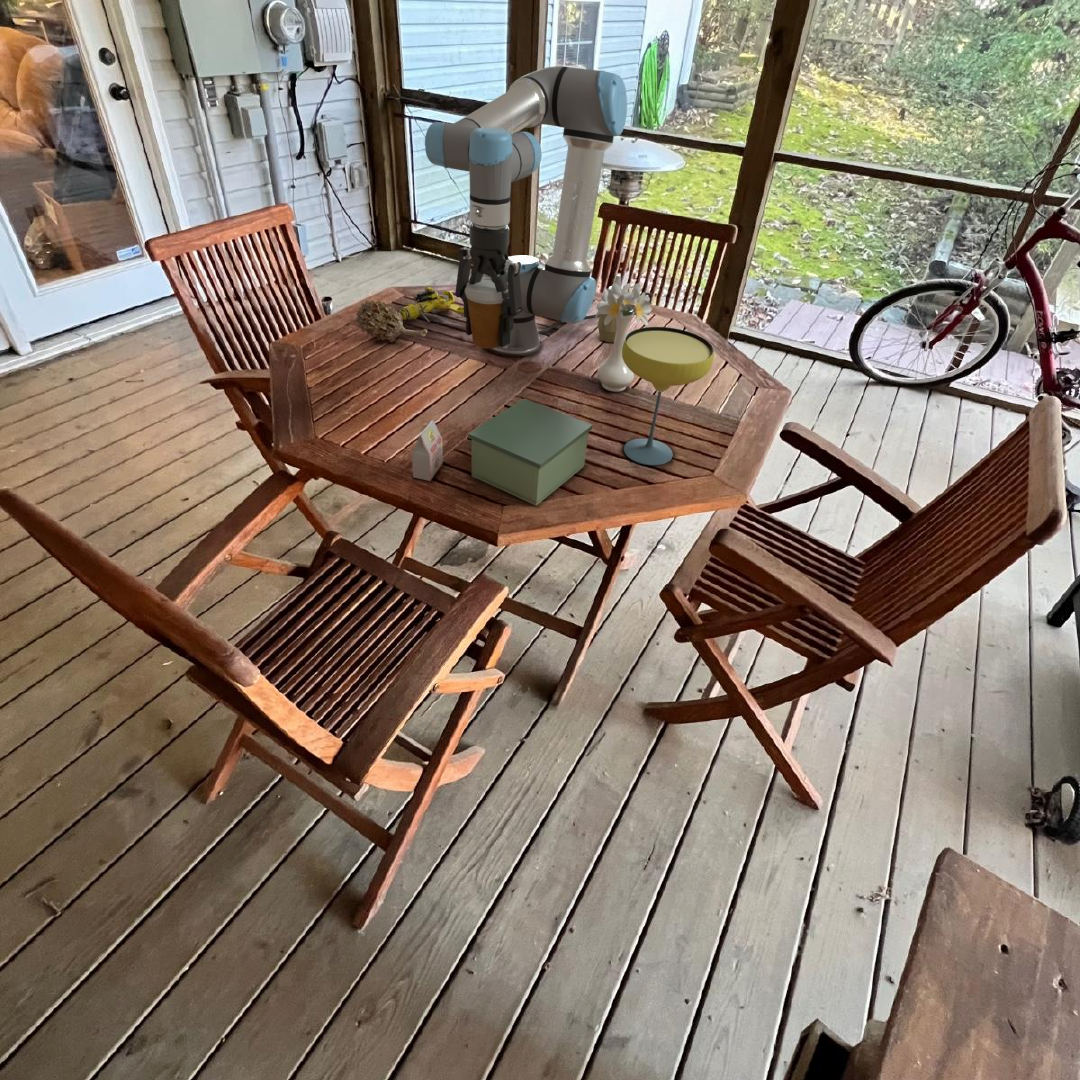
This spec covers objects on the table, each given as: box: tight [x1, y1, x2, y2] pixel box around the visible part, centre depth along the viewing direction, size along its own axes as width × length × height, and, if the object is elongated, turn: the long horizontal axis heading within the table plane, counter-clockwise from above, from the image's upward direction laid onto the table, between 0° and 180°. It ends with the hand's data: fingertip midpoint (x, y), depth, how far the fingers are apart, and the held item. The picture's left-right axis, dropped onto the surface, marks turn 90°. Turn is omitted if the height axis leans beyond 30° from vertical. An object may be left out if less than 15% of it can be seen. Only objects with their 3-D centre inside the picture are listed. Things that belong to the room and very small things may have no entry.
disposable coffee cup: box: [465, 277, 508, 349], centre depth 140 cm, size 10×10×12 cm
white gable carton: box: [411, 419, 444, 482], centre depth 137 cm, size 4×7×10 cm, turn 165°
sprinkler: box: [399, 286, 464, 323], centre depth 200 cm, size 19×8×20 cm
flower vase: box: [593, 282, 653, 393], centre depth 167 cm, size 13×18×25 cm
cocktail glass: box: [622, 326, 715, 467], centre depth 143 cm, size 18×18×25 cm
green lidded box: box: [467, 398, 594, 507], centre depth 139 cm, size 19×17×10 cm
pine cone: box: [355, 299, 428, 343], centre depth 183 cm, size 22×10×10 cm, turn 70°
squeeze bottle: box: [597, 274, 624, 343], centre depth 192 cm, size 8×8×18 cm
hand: (487, 338), depth 144 cm, fingers closed on disposable coffee cup, 8 cm apart
